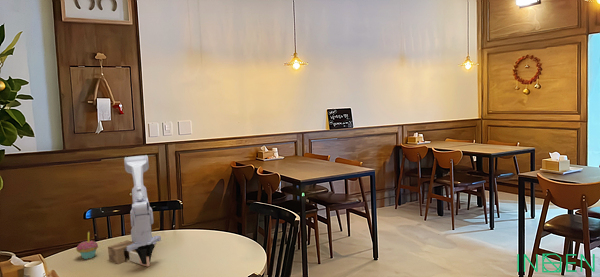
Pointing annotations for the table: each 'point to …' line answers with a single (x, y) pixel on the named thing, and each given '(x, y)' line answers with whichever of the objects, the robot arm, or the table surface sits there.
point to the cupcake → (87, 248)
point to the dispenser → (119, 251)
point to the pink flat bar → (138, 258)
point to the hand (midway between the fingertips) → (146, 262)
